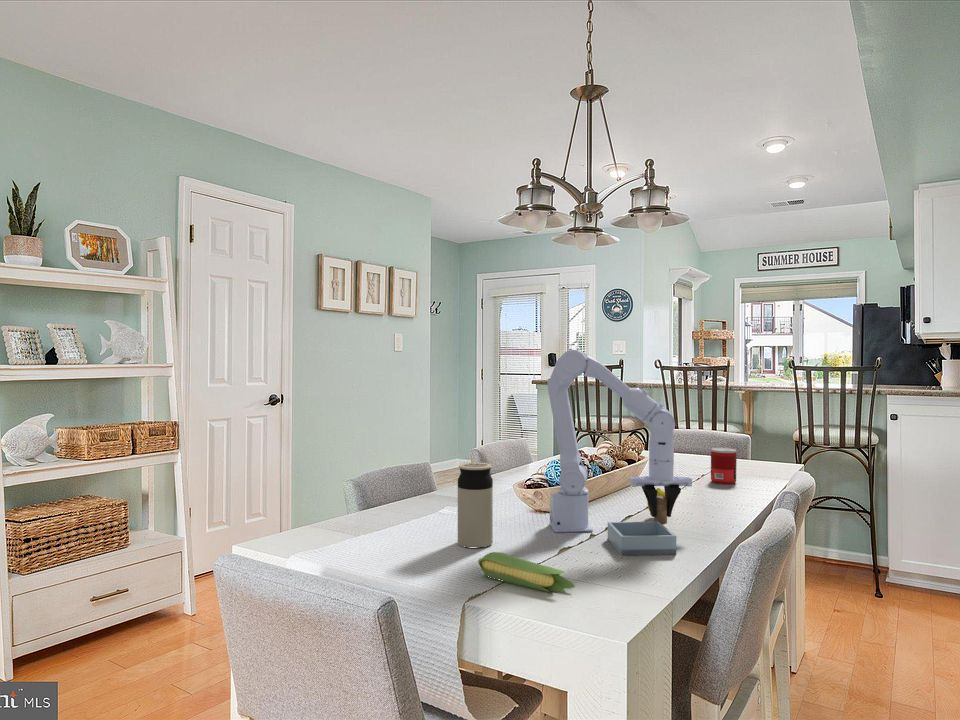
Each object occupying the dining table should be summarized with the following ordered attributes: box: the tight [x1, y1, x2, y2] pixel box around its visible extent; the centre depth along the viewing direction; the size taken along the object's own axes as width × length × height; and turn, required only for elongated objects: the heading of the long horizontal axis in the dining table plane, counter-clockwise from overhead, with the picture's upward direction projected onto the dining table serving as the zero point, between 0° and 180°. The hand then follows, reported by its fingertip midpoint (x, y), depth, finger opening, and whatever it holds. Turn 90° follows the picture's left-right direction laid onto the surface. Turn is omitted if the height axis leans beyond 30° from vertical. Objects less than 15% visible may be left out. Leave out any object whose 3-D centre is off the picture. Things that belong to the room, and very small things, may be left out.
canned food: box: [710, 447, 738, 485], centre depth 218 cm, size 8×8×11 cm
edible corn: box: [478, 551, 576, 594], centre depth 124 cm, size 5×20×5 cm
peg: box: [653, 496, 668, 525], centre depth 157 cm, size 3×3×6 cm
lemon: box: [647, 487, 665, 512], centre depth 172 cm, size 6×6×8 cm
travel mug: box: [457, 461, 494, 548], centre depth 149 cm, size 8×8×18 cm
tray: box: [607, 520, 677, 556], centre depth 147 cm, size 12×12×4 cm
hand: (660, 516), depth 157 cm, fingers closed on peg, 3 cm apart
